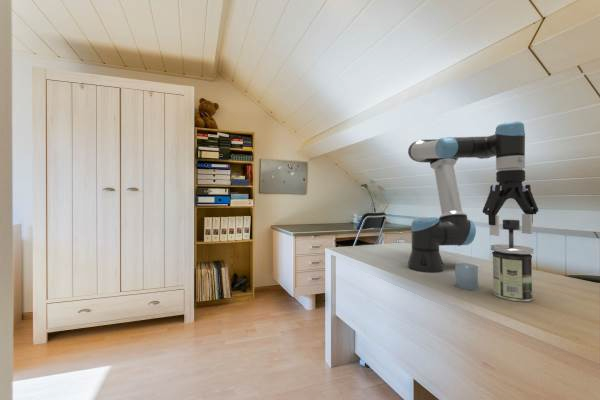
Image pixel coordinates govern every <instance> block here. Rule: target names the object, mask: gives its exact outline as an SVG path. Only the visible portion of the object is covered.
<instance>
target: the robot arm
mask: <svg viewBox="0 0 600 400" xmlns="http://www.w3.org/2000/svg"><path fill="white" fill-rule="evenodd" d="M525 131H526V130H525V124H524V123H523V122H521V121H508V122H503V123H500V124H498V125H497V126H496V127H495V132H494V134H493V135H492V134H491V135H488V136H487V135H486V136H461V137H459V136H458V137H457V136H454V137H452V136H449V137H448V136H447V137H440V138H438V139H437V138H436V139H433V138H432V139H419V140H416V141H413V142H412V143H411V144H410V145H409V147H408V150H407V153H408V156H409V158H410V159H411V160H413V161H414V162H417V163H429V164H430V165H429V166H430V168H431V169H433V170H434V175H435V181H436V187H437V192H438V193H437V194H438V199H439V206H440V211H441V215H440V216H439V217H436V216H435V217H432V216H431V217H422V218H417V219H414V220H413V221H412V222H411V228H410V231H411V252H410V255H409V258H408V261H407V267H408V268H409V269H411V270H413V271H417V272H423V273H425V272H426V273H437V272H442V271H444V270H445V264H444V263H443V260H442V256H441V253H440V246H458V247H461V246H469V245H471V244H472V243H473V242H474V241H475V238H476V234H477V229H476V228H477V227H476V224H475V223H474V221H473V220H472V219H468V215H467V214H466V213H464V211H463V207H462V203H461V199H460V194H459V188H458V183H457V177H456V171H455V167H454V166H455V165H456V163H457V162H458V160H459V159H462V158H465V159H466V158H467V159H469V158H472V159H473V158H475V159H481V160H482V159H490V158H493V157H495V170H496V173H495V176H496V178H495V179H496V180H495V182H496V183H498V184H491V185H490V188H489V189H490V190H489V193H488V195H487V198H486V201H485V203H484V206H483V208H482V213H483V214H484V215H486V216H487V217H488V225H489V236H497V237H500V215H498V213H499V212H500V210H501V209H502V207H503V206H504V204H505V203H506V201H507V200H509V199H513V200H515V202H516V203H517V204H518V206H519V208H520V209H521V211H522V212H523V213H522V214H521V233H522V234H526V235H533V221H534V220H533V217H534V215H537V214H538V212H539V208H538V206H537V203H536V200H535V198H534V196H533V195H534V194H533V193H532V189H531V184H523V182H525V181H526V171H525V170H524V169H525V168H526V162H525V161H526V159H525V157H526V156H525V155H526V154H525V153H526V147H525V146H526V133H525Z"/></svg>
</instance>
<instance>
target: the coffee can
mask: <svg viewBox="0 0 600 400" xmlns="http://www.w3.org/2000/svg"><path fill="white" fill-rule="evenodd" d="M491 252H492V253H491V254H492V275H493V276H492V278H493V279H492V280H493V282H492V284H493V285H492V286H493V291H492V293H493V295H495V297H498V298H500V299H501V298H502V299H503V300H508V301H513V302H520V303H521V302H522V303H523V302H527V303H528V302H531V301H533V282H532V281H533V279H532V278H533V275H532V273H533V272H532V271H533V270H532V267H533V266H532V264H533V263H532V258H533V255H532V254H509V253H501V252H496V251H491Z"/></svg>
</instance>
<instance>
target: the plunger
mask: <svg viewBox="0 0 600 400" xmlns="http://www.w3.org/2000/svg"><path fill="white" fill-rule="evenodd" d="M520 224H521V222H520V220H519V219H502V230H507V231H508V244H498V243H497V244H492V245H490V250H491V251H492V252H494V251H496V252H501V253H509V254H530V255H532V254H534V248H532V247H529V246H524V245H518V244H517V245H516V244H514V231H518V230H519V231H520V230H521V229H520V227H521V225H520Z"/></svg>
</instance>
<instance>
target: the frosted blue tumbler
mask: <svg viewBox="0 0 600 400" xmlns="http://www.w3.org/2000/svg"><path fill="white" fill-rule="evenodd" d="M478 269H479V268H478V265H476V264H471V263H466V262H459V263H455V264H454V273H455V277H454V279H455V280H454V283H455V287H456V288H457V289H459V290H464V291H470V292H471V291H474V292H475V291H478V290H479V270H478Z"/></svg>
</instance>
